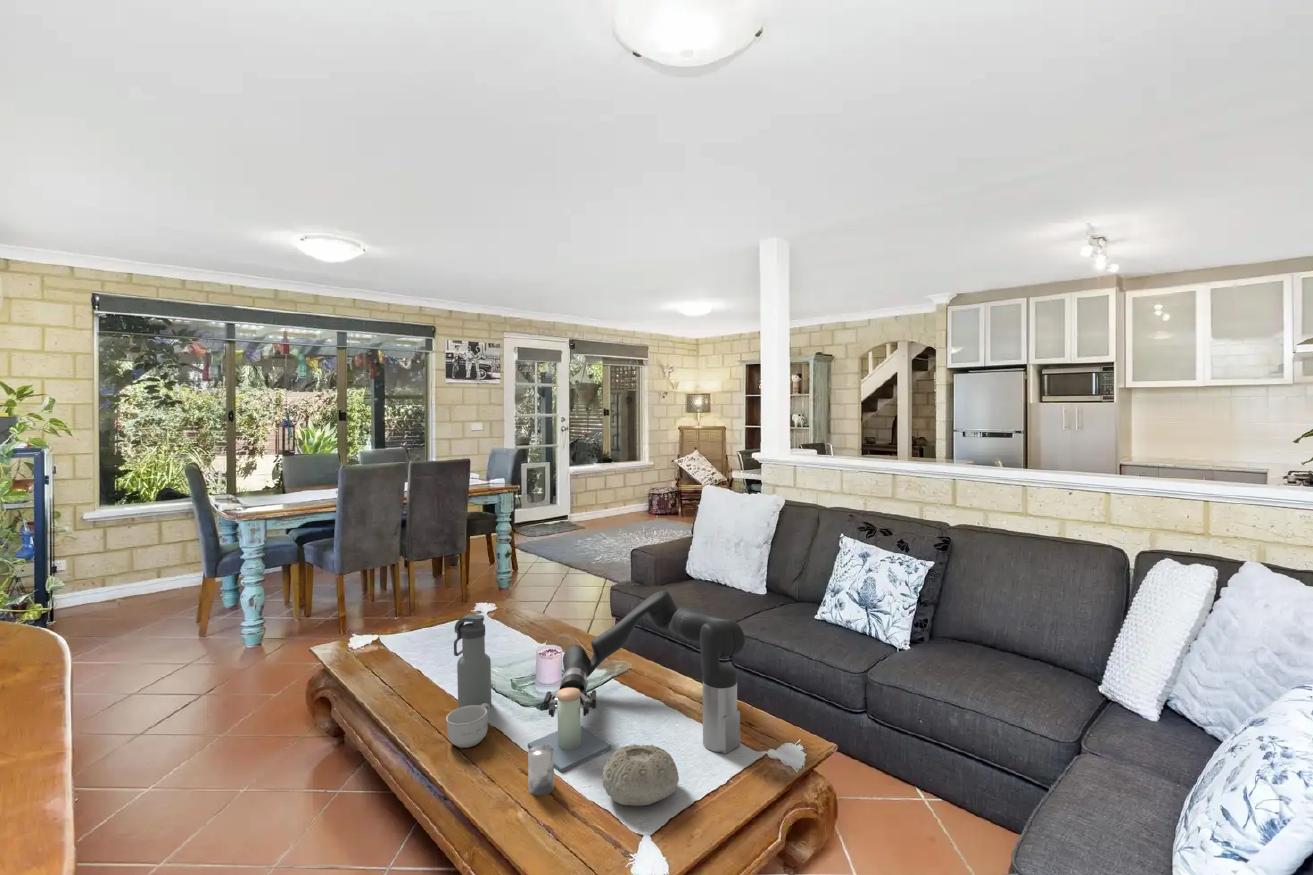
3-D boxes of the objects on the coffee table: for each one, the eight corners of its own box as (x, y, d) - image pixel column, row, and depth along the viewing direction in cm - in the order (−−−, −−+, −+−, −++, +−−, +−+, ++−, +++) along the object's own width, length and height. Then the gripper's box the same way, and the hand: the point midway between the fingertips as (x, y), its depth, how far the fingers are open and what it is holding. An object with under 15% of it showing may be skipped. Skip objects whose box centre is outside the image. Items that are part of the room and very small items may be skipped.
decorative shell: (637, 763, 160) (637, 725, 160) (693, 790, 149) (693, 749, 149) (587, 797, 147) (586, 756, 146) (645, 829, 135) (644, 784, 135)
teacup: (462, 757, 164) (462, 727, 163) (438, 744, 170) (437, 715, 170) (505, 734, 175) (504, 706, 174) (480, 723, 181) (480, 696, 181)
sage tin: (585, 740, 170) (584, 689, 169) (573, 752, 164) (573, 699, 163) (565, 736, 172) (564, 686, 171) (553, 747, 166) (552, 695, 166)
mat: (611, 748, 167) (611, 745, 167) (561, 772, 157) (561, 768, 156) (576, 726, 179) (576, 722, 179) (527, 747, 168) (527, 743, 168)
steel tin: (558, 788, 150) (558, 751, 150) (537, 799, 146) (536, 761, 146) (545, 777, 155) (544, 742, 154) (523, 787, 151) (523, 751, 150)
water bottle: (450, 712, 188) (448, 620, 186) (467, 697, 197) (465, 610, 196) (481, 716, 185) (479, 623, 184) (497, 701, 195) (495, 612, 193)
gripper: (598, 697, 182) (595, 726, 166) (549, 699, 181) (541, 727, 165) (598, 672, 182) (595, 698, 165) (548, 673, 181) (540, 699, 165)
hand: (568, 713), depth 165 cm, fingers open, 8 cm apart
